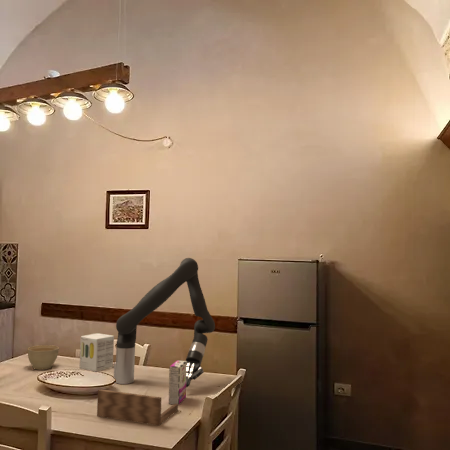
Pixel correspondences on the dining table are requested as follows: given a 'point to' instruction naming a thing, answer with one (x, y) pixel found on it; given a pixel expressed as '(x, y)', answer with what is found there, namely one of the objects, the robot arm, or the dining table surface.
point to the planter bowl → (42, 356)
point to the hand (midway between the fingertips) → (185, 386)
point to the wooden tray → (132, 407)
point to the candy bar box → (177, 382)
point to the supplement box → (96, 352)
